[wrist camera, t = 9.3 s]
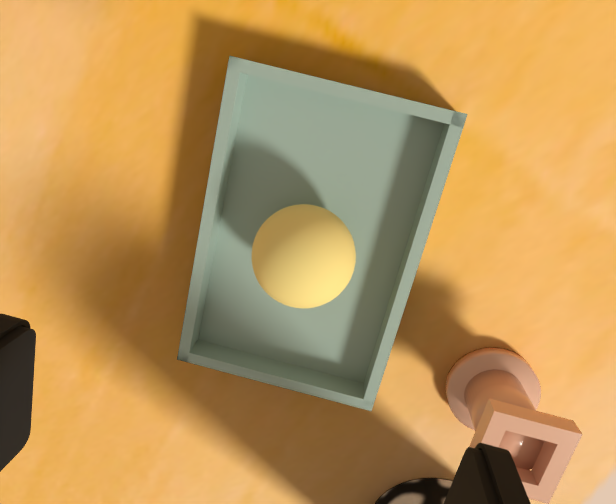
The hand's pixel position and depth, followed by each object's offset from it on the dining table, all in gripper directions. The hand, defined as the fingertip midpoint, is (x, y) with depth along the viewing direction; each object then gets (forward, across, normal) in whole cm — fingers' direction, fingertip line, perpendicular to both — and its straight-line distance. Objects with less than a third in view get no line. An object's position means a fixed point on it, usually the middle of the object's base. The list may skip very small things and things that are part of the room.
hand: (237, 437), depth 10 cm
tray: (+17, 0, +1) cm, 17 cm away
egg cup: (+17, -12, +7) cm, 22 cm away
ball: (+17, 0, +1) cm, 17 cm away
